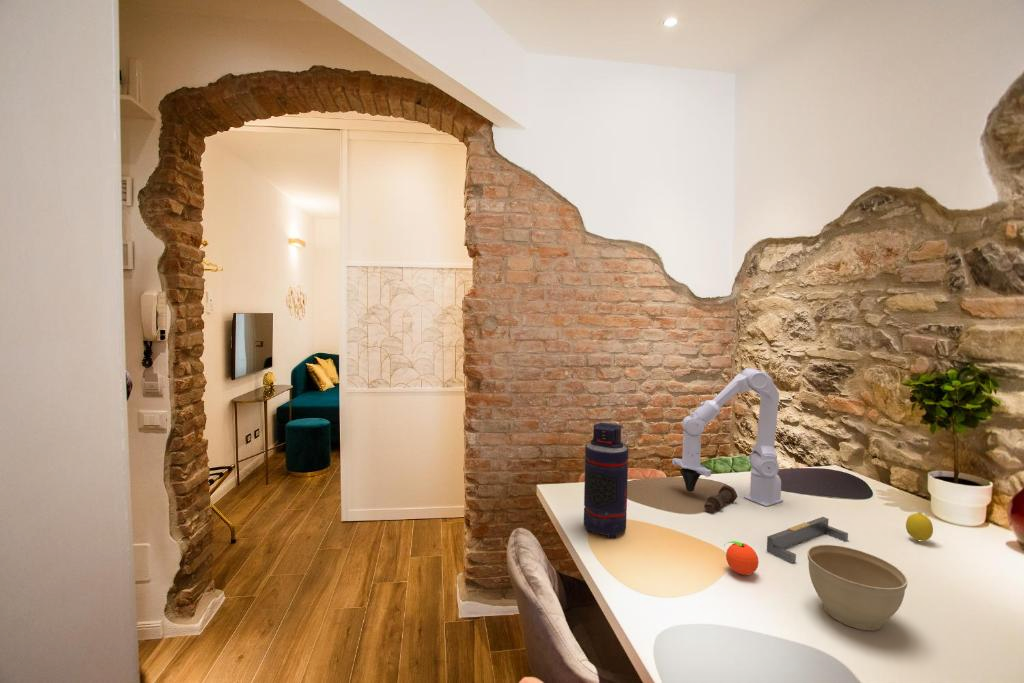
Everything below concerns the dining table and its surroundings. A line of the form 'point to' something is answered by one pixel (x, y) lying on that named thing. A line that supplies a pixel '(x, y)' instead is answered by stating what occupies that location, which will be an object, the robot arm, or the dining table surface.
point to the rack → (800, 537)
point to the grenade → (606, 481)
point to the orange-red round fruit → (742, 558)
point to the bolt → (720, 499)
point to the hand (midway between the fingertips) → (690, 490)
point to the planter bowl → (856, 585)
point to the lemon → (919, 526)
